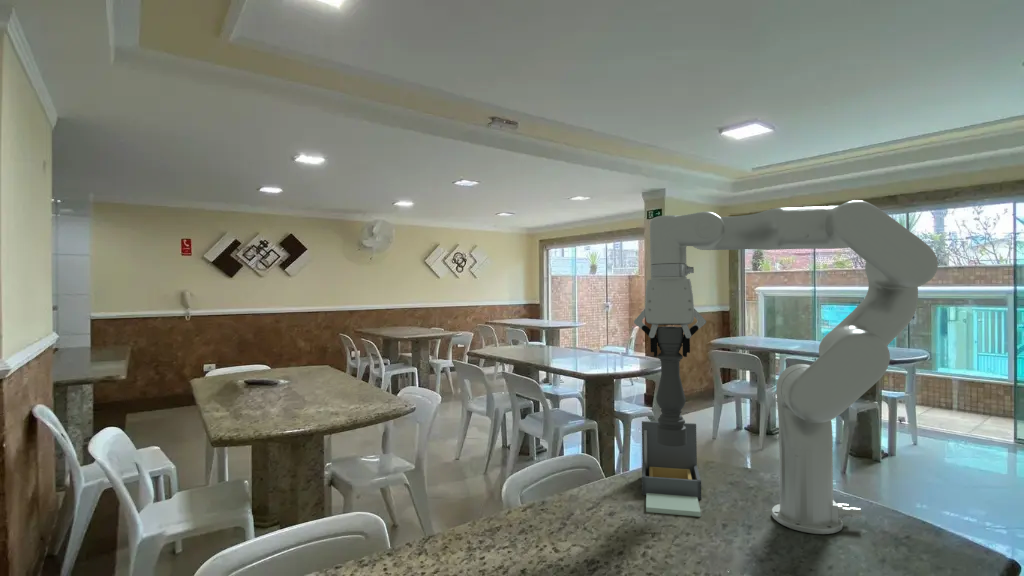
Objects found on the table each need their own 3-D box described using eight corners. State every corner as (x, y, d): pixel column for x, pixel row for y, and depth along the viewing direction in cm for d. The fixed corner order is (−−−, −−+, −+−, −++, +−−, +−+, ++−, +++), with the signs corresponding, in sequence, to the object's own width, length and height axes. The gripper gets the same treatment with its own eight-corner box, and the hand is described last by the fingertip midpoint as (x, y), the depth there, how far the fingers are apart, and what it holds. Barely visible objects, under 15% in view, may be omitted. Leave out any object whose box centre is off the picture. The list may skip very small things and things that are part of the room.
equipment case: (696, 480, 131) (695, 423, 131) (701, 499, 119) (700, 437, 119) (642, 476, 134) (641, 421, 134) (642, 494, 123) (641, 433, 123)
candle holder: (691, 441, 116) (689, 327, 116) (678, 448, 111) (676, 329, 111) (665, 436, 120) (663, 326, 120) (651, 442, 116) (649, 327, 116)
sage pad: (697, 501, 118) (697, 497, 118) (700, 516, 110) (700, 511, 110) (646, 497, 121) (646, 492, 121) (646, 511, 113) (646, 507, 113)
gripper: (708, 272, 117) (710, 354, 117) (628, 274, 121) (630, 353, 121) (712, 271, 110) (713, 358, 110) (627, 273, 114) (629, 357, 114)
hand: (670, 355), depth 116 cm, fingers closed on candle holder, 5 cm apart
